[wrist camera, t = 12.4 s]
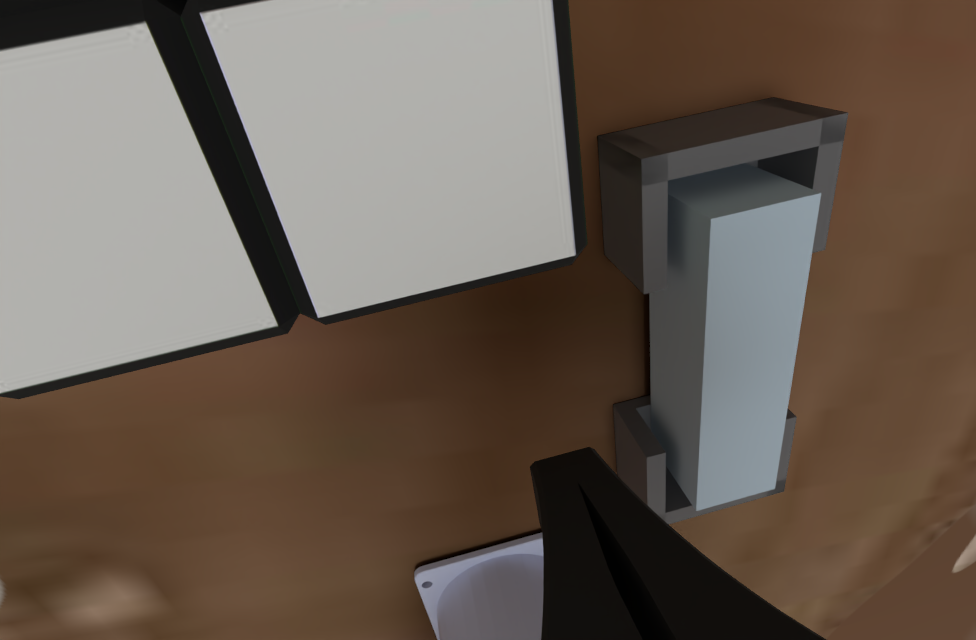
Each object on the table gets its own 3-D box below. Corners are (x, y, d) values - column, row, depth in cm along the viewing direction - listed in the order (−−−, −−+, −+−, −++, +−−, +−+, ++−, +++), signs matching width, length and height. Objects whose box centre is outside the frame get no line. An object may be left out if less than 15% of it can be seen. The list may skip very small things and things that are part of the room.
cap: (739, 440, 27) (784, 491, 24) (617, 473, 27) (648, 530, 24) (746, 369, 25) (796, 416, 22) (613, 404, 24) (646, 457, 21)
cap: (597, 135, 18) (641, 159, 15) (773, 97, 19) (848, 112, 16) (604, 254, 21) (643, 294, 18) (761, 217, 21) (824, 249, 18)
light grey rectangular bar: (719, 424, 25) (775, 488, 22) (651, 443, 25) (695, 511, 22) (739, 160, 19) (821, 192, 16) (648, 182, 19) (710, 219, 15)
